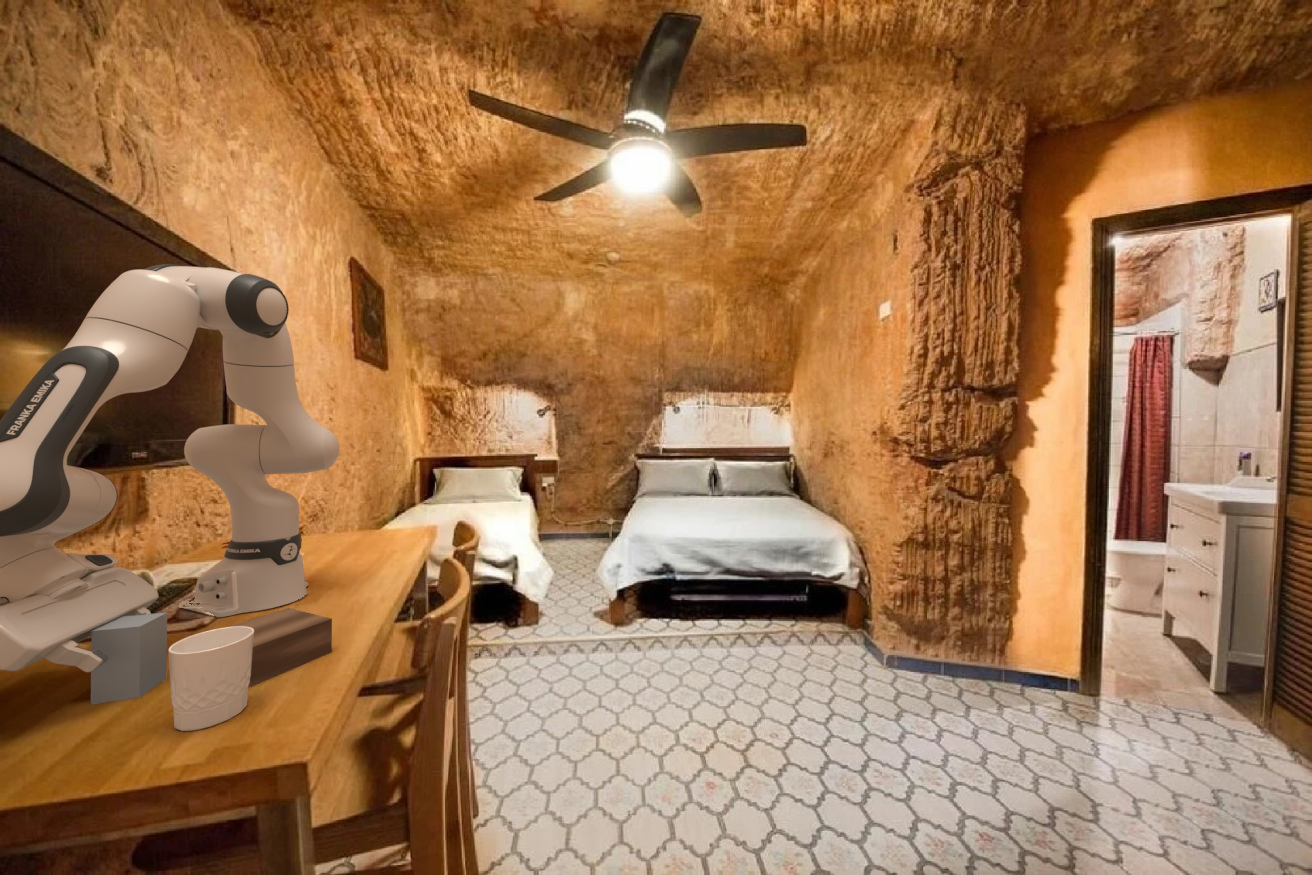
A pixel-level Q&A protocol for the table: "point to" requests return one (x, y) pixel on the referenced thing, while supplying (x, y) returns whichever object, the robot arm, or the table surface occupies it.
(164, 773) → the table surface
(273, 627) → the walnut box
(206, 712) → the white cup
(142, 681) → the slate block
